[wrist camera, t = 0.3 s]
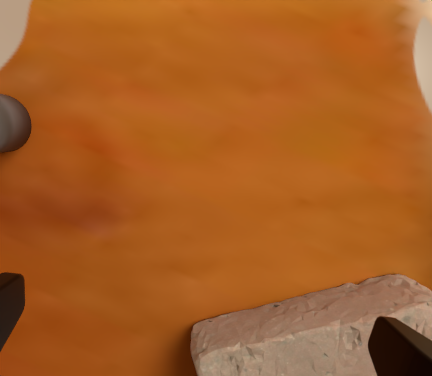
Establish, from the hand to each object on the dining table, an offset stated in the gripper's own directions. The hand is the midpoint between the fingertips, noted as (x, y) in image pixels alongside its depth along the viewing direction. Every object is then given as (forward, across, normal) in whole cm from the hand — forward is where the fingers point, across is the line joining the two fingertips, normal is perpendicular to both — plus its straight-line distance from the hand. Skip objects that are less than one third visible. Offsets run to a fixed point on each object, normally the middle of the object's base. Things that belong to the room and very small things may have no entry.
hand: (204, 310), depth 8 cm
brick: (+13, -9, +12) cm, 20 cm away
